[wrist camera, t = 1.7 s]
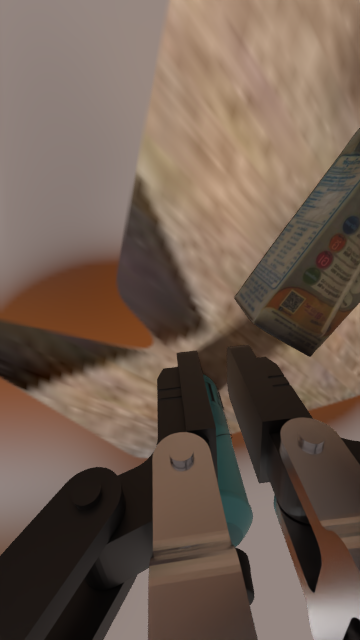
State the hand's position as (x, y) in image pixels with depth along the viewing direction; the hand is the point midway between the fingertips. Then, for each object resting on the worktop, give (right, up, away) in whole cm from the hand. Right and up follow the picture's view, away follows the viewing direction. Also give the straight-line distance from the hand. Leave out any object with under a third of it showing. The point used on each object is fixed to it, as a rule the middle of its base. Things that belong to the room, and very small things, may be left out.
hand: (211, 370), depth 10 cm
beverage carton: (+12, +10, +18) cm, 24 cm away
